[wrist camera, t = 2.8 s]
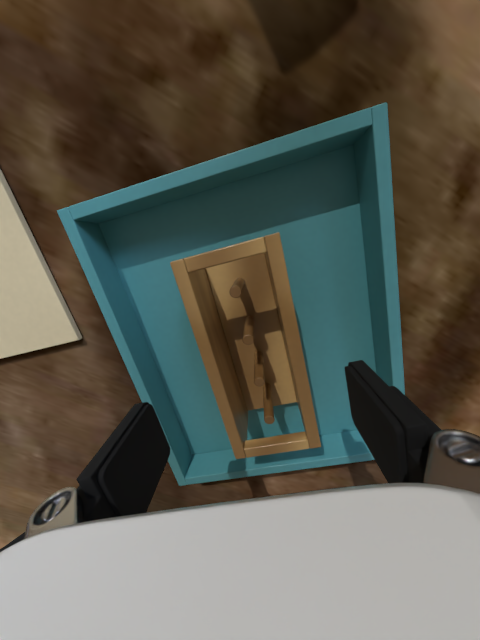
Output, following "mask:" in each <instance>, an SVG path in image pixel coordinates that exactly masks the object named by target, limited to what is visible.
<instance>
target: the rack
mask: <svg viewBox="0 0 480 640" xmlns="http://www.w3.org/2000/svg"><path fill="white" fill-rule="evenodd" d="M170 265H171V268H172V271H173V274H174V277H175V280H176V283H177V286H178V289H179V292H180V295H181V298H182V301H183V303H184V306H185V309H186V312H187V315H188V318H189V321H190V324H191V327H192V330H193V333H194V336H195V339H196V342H197V345H198V348H199V351H200V354H201V357H202V360H203V363H204V366H205V369H206V372H207V375H208V378H209V381H210V384H211V387H212V390H213V393H214V396H215V399H216V402H217V405H218V408H219V411H220V414H221V417H222V420H223V423H224V426H225V429H226V432H227V435H228V438H229V441H230V444H231V446H232V449H233V452H234V455H235V458H236V459H241V458H246V457H247V458H248V457H255V456H262V455H269V454H276V453H283V452H290V451H297V450H304V449H309V448H310V449H311V448H318V447H321V442H320V437H319V432H318V427H317V422H316V416H315V411H314V406H313V401H312V396H311V391H310V386H309V381H308V376H307V370H306V365H305V360H304V355H303V350H302V345H301V340H300V335H299V330H298V324H297V319H296V314H295V309H294V304H293V299H292V294H291V289H290V284H289V278H288V273H287V268H286V263H285V258H284V253H283V248H282V243H281V237H280V233H279V232H278V233H274V234H270V235H267V236H264V237H259V238H256V239H252V240H249V241H245V242H241V243H238V244H234V245H230V246H227V247H223V248H219V249H216V250H212V251H208V252H205V253H201V254H197V255H194V256H190V257H186V258H183V259H179V260H176V261H172V262H170ZM295 402H297V404H298V408H299V411H300V415H301V419H302V422H303V426H304V430H305V432H298V433H291V434H285V435H278V436H272V437H265V438H259V439H252V440H247V428H248V411H249V410H254V409H260V408H264V421H265V423H267V424H272V423H274V420H275V419H274V410H273V406H277V405H283V404H289V403H295Z"/></svg>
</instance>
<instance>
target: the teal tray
mask: <svg viewBox="0 0 480 640" xmlns="http://www.w3.org/2000/svg"><path fill="white" fill-rule="evenodd" d="M57 212H58V214H59V217H60V219H61V221H62V223H63V226H64V228H65V230H66V232H67V235H68V237H69V239H70V241H71V244H72V246H73V248H74V250H75V253H76V255H77V257H78V259H79V262H80V264H81V266H82V268H83V271H84V273H85V275H86V277H87V280H88V282H89V284H90V286H91V289H92V291H93V293H94V295H95V298H96V300H97V302H98V304H99V307H100V309H101V311H102V313H103V316H104V318H105V320H106V322H107V325H108V327H109V329H110V331H111V334H112V336H113V338H114V340H115V343H116V345H117V347H118V349H119V352H120V354H121V356H122V358H123V361H124V363H125V365H126V367H127V370H128V372H129V374H130V376H131V379H132V381H133V383H134V385H135V388H136V390H137V392H138V394H139V397H140V399H141V401H142V403H144V402H148V403H149V404H151V405H153V407H154V410H155V412H156V415H157V417H158V419H159V422H160V424H161V427H162V429H163V431H164V434H165V436H166V439H167V441H168V443H169V446H170V455H169V458H168V462H169V464H170V466H171V469H172V471H173V473H174V475H175V478H176V480H177V482H178V484H179V486H182V485H189V484H197V483H204V482H212V481H219V480H227V479H234V478H242V477H249V476H257V475H264V474H272V473H279V472H287V471H294V470H302V469H309V468H317V467H324V466H332V465H339V464H347V463H354V462H362V461H369V460H375V459H374V457H373V455H372V454H371V452H370V450H369V449H368V447H367V445H366V443H365V442H364V440H363V438H362V437H361V435H360V433H359V431H358V430H357V428H356V426H355V425H354V422H353V420H352V416H351V409H350V402H349V395H348V389H347V382H346V375H345V366H348V363H349V362H353V361H358V360H363V361H364V362H365V363H366V364H367V365H368V366H369V367H370V368H371V369H372V370H373V371H374V372H375V373H376V374H377V375H378V376H379V377H380V378H381V379H382V380H383V381H384V382H385V383H386V384H387V385H388V386H395V387H396V388H398V389H399V390H400V391H401V392H402V393H403V394H404V395H405V388H404V372H403V355H402V339H401V322H400V306H399V289H398V273H397V256H396V240H395V223H394V207H393V190H392V173H391V157H390V140H389V124H388V107H387V102H385V103H382V104H379V105H376V106H373V107H371V108H367V109H364V110H361V111H358V112H355V113H352V114H349V115H346V116H343V117H340V118H337V119H334V120H330V121H327V122H324V123H321V124H318V125H315V126H312V127H309V128H306V129H303V130H300V131H297V132H294V133H291V134H288V135H285V136H282V137H279V138H276V139H273V140H270V141H267V142H264V143H261V144H258V145H255V146H252V147H249V148H246V149H242V150H239V151H236V152H233V153H230V154H227V155H224V156H221V157H218V158H215V159H212V160H209V161H206V162H203V163H200V164H197V165H194V166H191V167H188V168H185V169H182V170H179V171H176V172H173V173H170V174H167V175H164V176H161V177H157V178H154V179H151V180H148V181H145V182H142V183H139V184H136V185H133V186H130V187H127V188H124V189H121V190H118V191H115V192H112V193H109V194H106V195H103V196H100V197H97V198H94V199H91V200H88V201H85V202H82V203H79V204H76V205H73V206H69V207H66V208H63V209H60V210H57ZM278 232H279V233H280V237H281V243H282V248H283V253H284V258H285V263H286V268H287V273H288V278H289V284H290V289H291V294H292V299H293V304H294V309H295V314H296V319H297V324H298V330H299V335H300V340H301V345H302V350H303V355H304V360H305V365H306V370H307V376H308V381H309V386H310V391H311V396H312V401H313V406H314V411H315V416H316V422H317V427H318V432H319V437H320V442H321V447H318V448H311V449H310V448H309V449H304V450H297V451H290V452H283V453H276V454H269V455H262V456H255V457H248V458H247V457H246V458H241V459H236V458H235V455H234V452H233V449H232V446H231V444H230V441H229V438H228V435H227V432H226V429H225V426H224V423H223V420H222V417H221V414H220V411H219V408H218V405H217V402H216V399H215V396H214V393H213V390H212V387H211V384H210V381H209V378H208V375H207V372H206V369H205V366H204V363H203V360H202V357H201V354H200V351H199V348H198V345H197V342H196V339H195V336H194V333H193V330H192V327H191V324H190V321H189V318H188V315H187V312H186V309H185V306H184V303H183V301H182V298H181V295H180V292H179V289H178V286H177V283H176V280H175V277H174V274H173V271H172V268H171V265H170V262H172V261H176V260H179V259H183V258H186V257H190V256H194V255H197V254H201V253H205V252H208V251H212V250H216V249H219V248H223V247H227V246H230V245H234V244H238V243H241V242H245V241H249V240H252V239H256V238H259V237H264V236H267V235H270V234H274V233H278ZM273 410H274V419H275V420H274V423H272V424H267V423H265V421H264V408H260V409H254V410H249V411H248V428H247V440H252V439H259V438H265V437H272V436H278V435H285V434H291V433H298V432H305V430H304V426H303V422H302V419H301V415H300V411H299V408H298V404H297V402H295V403H289V404H283V405H277V406H273Z"/></svg>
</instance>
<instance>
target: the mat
mask: <svg viewBox="0 0 480 640" xmlns="http://www.w3.org/2000/svg"><path fill="white" fill-rule="evenodd" d="M80 339H82V336H81V334H80V332H79V329H78V327H77V325H76V323H75V321H74V319H73V317H72V315H71V313H70V311H69V309H68V307H67V305H66V303H65V301H64V299H63V297H62V294H61V292H60V290H59V288H58V286H57V284H56V282H55V280H54V278H53V276H52V274H51V272H50V270H49V268H48V266H47V264H46V262H45V259H44V257H43V255H42V253H41V251H40V249H39V247H38V245H37V243H36V241H35V239H34V237H33V235H32V233H31V231H30V229H29V226H28V224H27V222H26V220H25V218H24V216H23V214H22V212H21V210H20V208H19V206H18V204H17V202H16V200H15V198H14V196H13V194H12V191H11V189H10V187H9V185H8V183H7V181H6V179H5V177H4V175H3V173H2V171H1V169H0V359H2V358H6V357H10V356H15V355H19V354H23V353H27V352H31V351H35V350H40V349H44V348H48V347H52V346H56V345H61V344H65V343H69V342H73V341H77V340H80Z"/></svg>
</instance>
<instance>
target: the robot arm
mask: <svg viewBox="0 0 480 640" xmlns="http://www.w3.org/2000/svg"><path fill="white" fill-rule="evenodd" d="M345 375H346V382H347V389H348V395H349V402H350V409H351V416H352V420H353V422H354V425H355V426H356V428H357V430H358V431H359V433H360V435H361V437H362V438H363V440H364V442H365V443H366V445H367V447H368V449H369V450H370V452H371V454H372V455H373V457H374V459H375V461H376V462H377V464H378V466H379V468H380V469H381V471H382V473H383V474H384V476H385V478H386V480H387V481H388V483H387V484H372V485H362V486H352V487H343V488H334V489H325V490H317V491H309V492H301V493H293V494H285V495H277V496H269V497H261V498H253V499H245V500H237V501H230V502H222V503H214V504H207V505H199V506H192V507H184V508H177V509H170V510H162V511H155V512H148V513H146V511H147V509H148V506H149V504H150V501H151V499H152V497H153V494H154V492H155V489H156V487H157V485H158V482H159V480H160V477H161V475H162V472H163V470H164V468H165V465H166V463H167V460H168V458H169V455H170V446H169V443H168V441H167V439H166V436H165V434H164V431H163V429H162V427H161V424H160V422H159V419H158V417H157V415H156V412H155V410H154V407H153V405H151V404H149V403H148V402H144V403H139V404H135V405H134V406H133V407H132V408H131V410H130V411H129V412H128V414H127V415H126V416H125V417H124V419H123V420H122V421H121V423H120V424H119V425H118V426H117V428H116V429H115V430H114V432H113V433H112V434H111V435H110V437H109V438H108V439H107V441H106V442H105V443H104V444H103V446H102V447H101V448H100V450H99V451H98V452H97V453H96V455H95V456H94V457H93V459H92V460H91V461H90V462H89V464H88V465H87V466H86V468H85V469H84V470H83V471H82V473H81V474H80V475H79V477H78V478H77V481H78V483H79V485H80V486H79V487H78V488H77V490H76V489H75V488H74V487H67V488H64V489H61V490H59V491H57V492H55V493H54V494H52V495H51V496H50V497H48V498H47V499H46V500H45V501H43V502H42V503H41V504H40V505H39V506H38V507H37V509H36V510H35V511H34V512H33V514H32V515H31V517H30V518H29V521H28V523H27V528H26V532H24V533H23V534H22V535H20V536H19V537H17V538H16V539H14V540H13V541H12V542H10V543H9V544H7V545H6V546H5V547H3V548H2V549H0V640H480V437H479V436H477V435H475V434H472V433H469V432H466V431H462V430H456V429H445V430H441V429H440V428H439V427H438V426H437V425H436V424H435V423H433V422H432V421H431V420H430V419H429V418H428V417H427V416H426V415H425V414H424V413H423V412H422V411H421V410H420V409H419V408H418V407H417V406H416V405H415V404H414V403H412V402H411V401H410V400H409V399H408V398H407V397H406V396H405V395H404V394H403V393H402V392H401V391H400V390H399V389H398V388H396V387H395V386H388V385H387V384H386V383H385V382H384V381H383V380H382V379H381V378H380V377H379V376H378V375H377V374H376V373H375V372H374V371H373V370H372V369H371V368H370V367H369V366H368V365H367V364H366V363H365V362H364V361H363V360H358V361H353V362H349V363H348V366H345Z"/></svg>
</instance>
